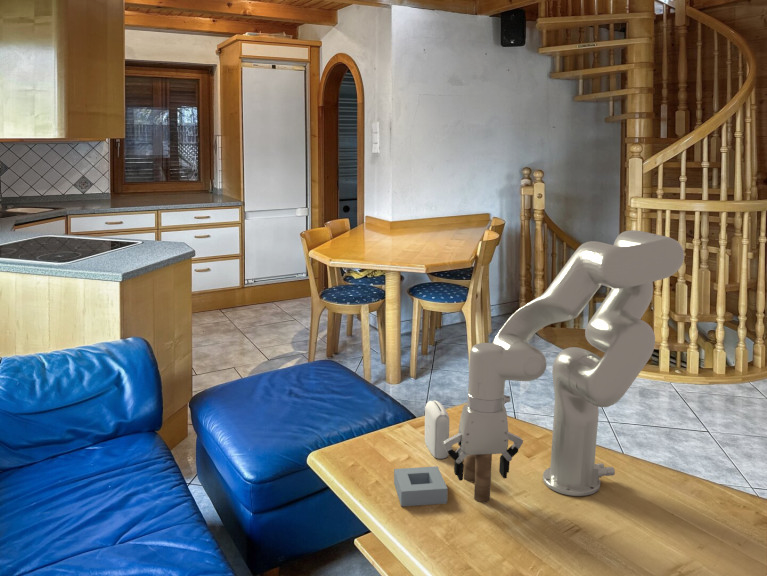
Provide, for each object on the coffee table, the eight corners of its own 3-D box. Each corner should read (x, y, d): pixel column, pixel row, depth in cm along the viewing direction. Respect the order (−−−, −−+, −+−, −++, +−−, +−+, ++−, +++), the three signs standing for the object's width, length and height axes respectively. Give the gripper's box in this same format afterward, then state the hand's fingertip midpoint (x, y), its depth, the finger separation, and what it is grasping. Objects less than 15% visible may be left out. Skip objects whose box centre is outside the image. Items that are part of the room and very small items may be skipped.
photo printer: (422, 442, 175) (423, 396, 173) (438, 440, 176) (439, 395, 174) (433, 460, 166) (434, 412, 163) (450, 458, 167) (452, 411, 164)
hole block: (437, 480, 156) (437, 466, 155) (447, 503, 146) (447, 488, 146) (394, 483, 155) (394, 469, 154) (401, 506, 145) (401, 491, 144)
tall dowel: (487, 493, 150) (489, 443, 148) (491, 502, 147) (494, 450, 144) (472, 494, 150) (474, 444, 147) (476, 503, 147) (478, 451, 144)
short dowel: (476, 474, 159) (477, 450, 158) (480, 481, 156) (481, 457, 154) (462, 475, 159) (462, 451, 157) (465, 482, 155) (466, 458, 154)
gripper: (519, 394, 148) (514, 466, 152) (441, 396, 146) (438, 470, 150) (531, 407, 141) (525, 483, 145) (449, 410, 139) (445, 487, 142)
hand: (481, 476), depth 147 cm, fingers open, 9 cm apart
